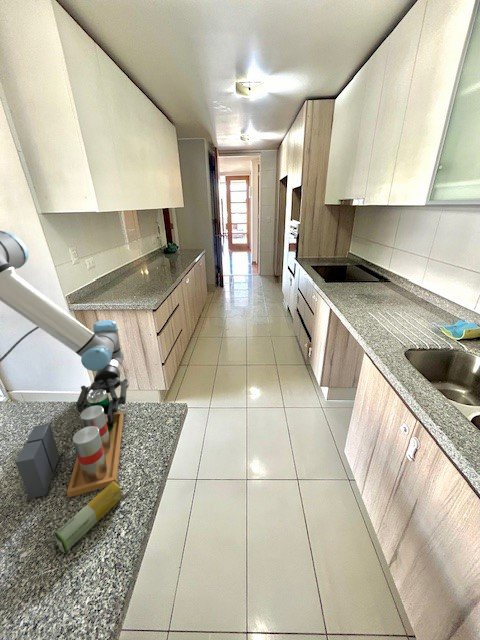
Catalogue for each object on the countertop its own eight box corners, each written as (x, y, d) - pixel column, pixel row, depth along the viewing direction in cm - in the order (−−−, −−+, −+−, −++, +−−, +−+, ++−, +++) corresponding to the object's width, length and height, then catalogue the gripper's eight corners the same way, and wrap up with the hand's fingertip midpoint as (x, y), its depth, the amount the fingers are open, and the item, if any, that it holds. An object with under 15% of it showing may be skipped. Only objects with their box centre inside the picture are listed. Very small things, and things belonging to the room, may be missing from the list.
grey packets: (46, 460, 65) (34, 425, 61) (60, 457, 66) (49, 423, 62) (30, 500, 56) (15, 462, 52) (46, 495, 57) (33, 458, 53)
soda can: (92, 436, 72) (83, 401, 67) (97, 423, 76) (89, 389, 72) (112, 434, 73) (104, 398, 68) (116, 421, 77) (109, 387, 73)
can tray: (89, 423, 77) (87, 418, 76) (123, 416, 80) (123, 411, 79) (68, 499, 56) (66, 492, 55) (116, 485, 59) (115, 479, 58)
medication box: (64, 556, 47) (60, 544, 45) (56, 546, 48) (52, 534, 46) (123, 498, 56) (121, 486, 55) (115, 491, 57) (112, 479, 56)
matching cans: (91, 444, 69) (82, 407, 65) (112, 439, 71) (104, 403, 67) (81, 486, 58) (69, 446, 54) (106, 480, 60) (97, 440, 55)
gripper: (138, 379, 92) (136, 425, 71) (80, 389, 86) (60, 442, 66) (135, 361, 89) (132, 403, 69) (75, 369, 84) (53, 418, 63)
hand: (97, 422), depth 67 cm, fingers closed on soda can, 5 cm apart
